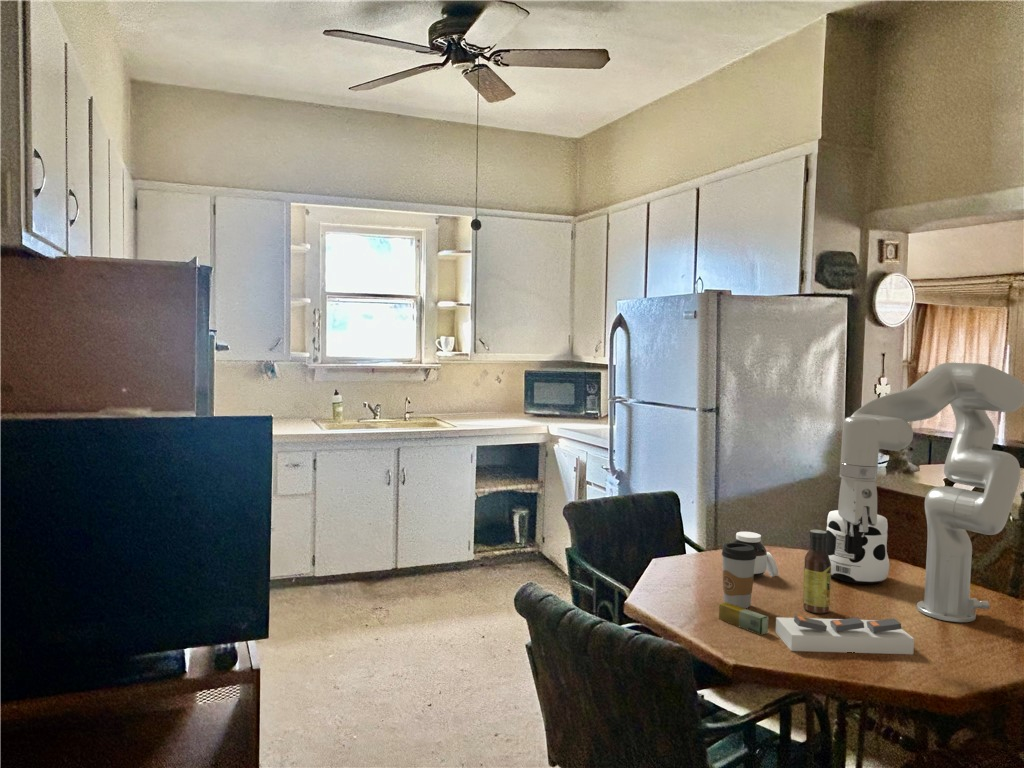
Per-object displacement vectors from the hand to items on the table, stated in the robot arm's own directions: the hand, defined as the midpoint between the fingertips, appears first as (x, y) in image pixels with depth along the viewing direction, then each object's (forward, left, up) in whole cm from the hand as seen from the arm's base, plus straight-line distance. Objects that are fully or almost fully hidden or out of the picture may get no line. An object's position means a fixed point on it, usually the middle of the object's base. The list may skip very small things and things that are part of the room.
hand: (853, 552), depth 163 cm
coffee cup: (+20, -19, -20) cm, 34 cm away
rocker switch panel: (+3, +3, -20) cm, 20 cm away
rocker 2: (-5, +5, -15) cm, 16 cm away
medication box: (+22, -6, -20) cm, 30 cm away
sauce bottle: (+1, -17, -20) cm, 26 cm away
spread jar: (+8, -44, -20) cm, 49 cm away
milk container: (-20, -43, -20) cm, 51 cm away
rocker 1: (+11, +5, -15) cm, 19 cm away
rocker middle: (+3, +5, -15) cm, 16 cm away
